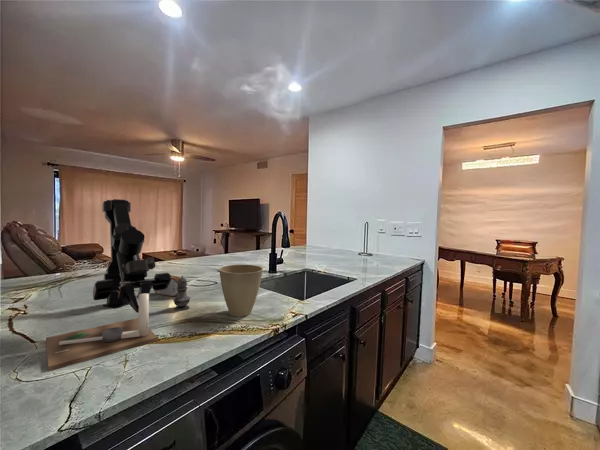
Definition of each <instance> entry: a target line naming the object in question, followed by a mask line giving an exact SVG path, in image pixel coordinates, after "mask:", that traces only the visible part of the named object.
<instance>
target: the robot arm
mask: <svg viewBox="0 0 600 450" xmlns="http://www.w3.org/2000/svg"><path fill="white" fill-rule="evenodd" d="M101 207H102V212H103V213H104V218H105V220H106V222H108V223H109V231H110V232H109V233H110V234H109V235H110V263H109V265H108V266H107V268H106V269H105V273H104V274H103V280H97V281H96V282H95V283H94V285H93V289H92V297H93V300H94V301H100V300H106V303H104V304H102V306H103V307H108V308H114V309H117V308H120V307H123V306H126V305H129V306H130V307H131V308H132V309H133V310H134V311H135V312H136V313H137V314H139V294H143V293H148V294H149V295H150V293H151V290H152V289H154V290H156V291H158V290H164V289H166V288H168V286H169V284H170V281H171V279H172V278H171V274H170V273H169V272H161V273H155V275H154V277H153V278H149V279H146V278H147V277H148V272H149V271H150V270H154V269H155V268H156V261H155V258H154V257H153V256H151V257H147V258H145V259H141V258H140V254H141V252H142V249H143V245H144V244H145V238H146V237H145V234H144V232H143V231H141V230H139V229H138V228H136V226H133V225H132V222H131V217H130V213H131V211H132V210H131V207H132V204H131V201H129V200H127V199H119V198H118V199H117V198H113V199H107V200H104V201H103V202H102V206H101ZM135 289H138V294H137V296H136V293H135ZM154 290H153V291H154Z"/></svg>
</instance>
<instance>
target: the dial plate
mask: <svg viewBox="0 0 600 450" xmlns="http://www.w3.org/2000/svg"><path fill="white" fill-rule="evenodd" d="M138 319H139V317H136V318H132V319H127V320H121V321H117V322H113V323H108V324H104V325H100V326H94V327H90V328H86V329H80V330H77V331H76V330H75V331H71V332H66V333H61V334H57V335H53V336H48V337H46V338H45V345H46V346H45V347H46V358H47V370H48V372H50V371H54V370H57V369H61V368H65V367H68V366H72V365H75V364H79V363H83V362H87V361H89V360H90V361H91V360H93V359H98V358H101V357H104V356H109V355H113V354H115V353H118V352H123V351H126V350H130V349H133V348H136V347H140V346H144V345H148V344H151V343H154V342H157V341H158V336H157V335H156V334H155V333H154V332H153V331H152V330H151V328H149V332H148V335H146V336H138V337H130V338H122V339H120V340H117V341H114V342H103V341H102V340H96V341H88V342H80V343H71V344H63V345H59V342H60V341H68V340H77V339H85V338H93V337H102V333H103V331H104V330H107V329H110V328H115V327H120V328H123V332H128V331H136V330H138Z"/></svg>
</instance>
